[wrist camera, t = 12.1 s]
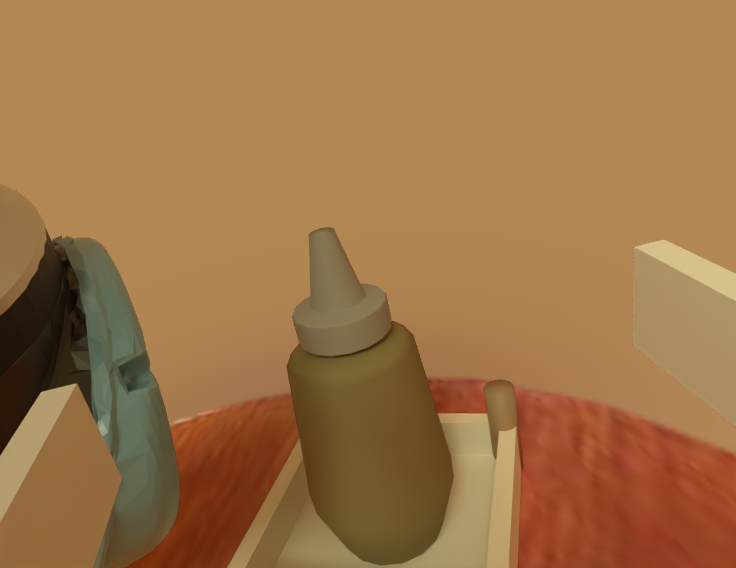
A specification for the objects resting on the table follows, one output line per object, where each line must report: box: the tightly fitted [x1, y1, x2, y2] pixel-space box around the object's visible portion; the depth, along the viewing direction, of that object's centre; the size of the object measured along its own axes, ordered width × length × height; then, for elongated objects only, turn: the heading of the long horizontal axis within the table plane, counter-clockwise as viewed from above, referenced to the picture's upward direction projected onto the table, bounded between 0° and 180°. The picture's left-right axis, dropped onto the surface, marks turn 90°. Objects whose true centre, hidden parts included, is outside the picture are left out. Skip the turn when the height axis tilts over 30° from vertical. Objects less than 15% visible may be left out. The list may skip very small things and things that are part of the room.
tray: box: [227, 380, 523, 568], centre depth 32 cm, size 14×14×6 cm
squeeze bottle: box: [287, 228, 454, 566], centre depth 29 cm, size 8×8×18 cm
